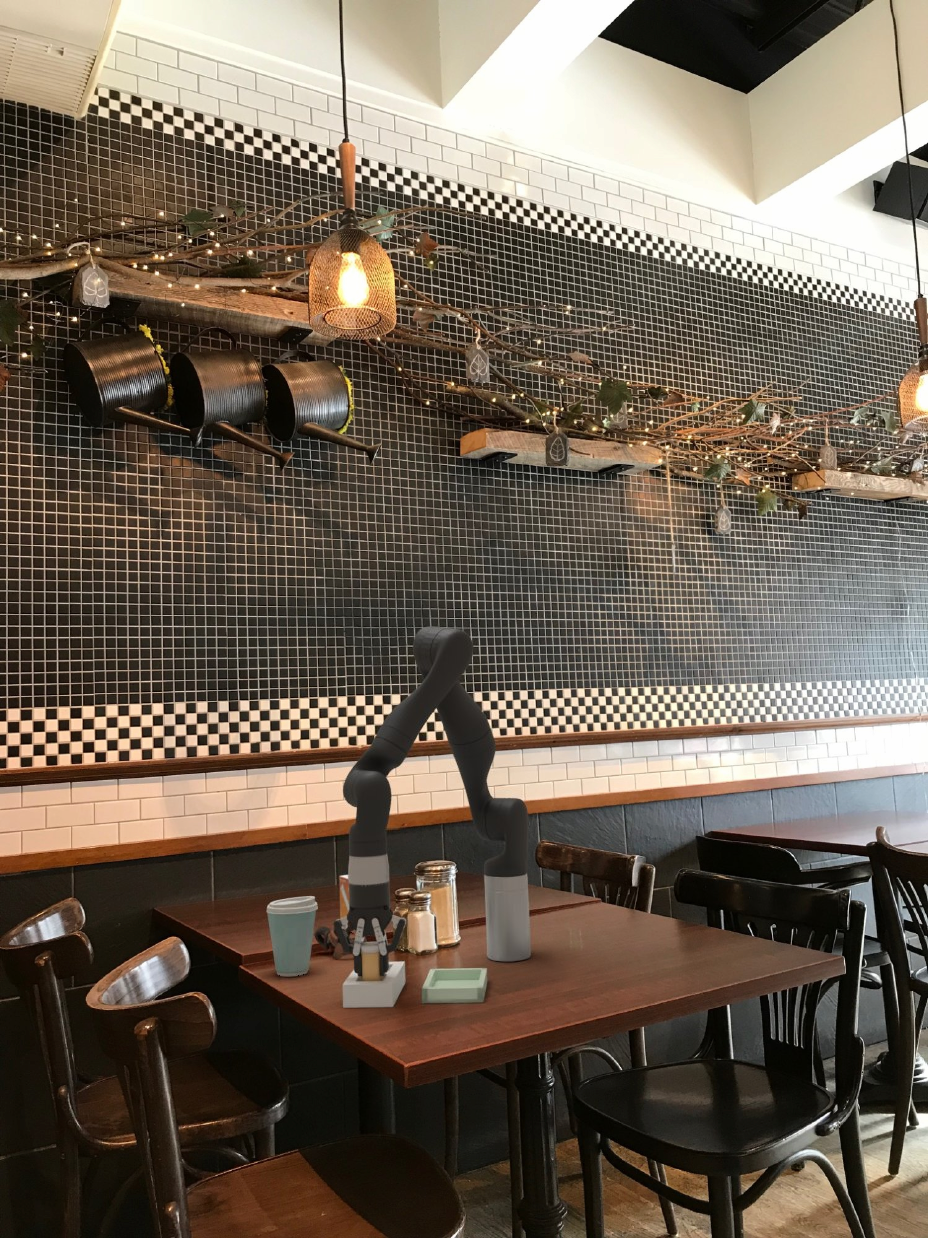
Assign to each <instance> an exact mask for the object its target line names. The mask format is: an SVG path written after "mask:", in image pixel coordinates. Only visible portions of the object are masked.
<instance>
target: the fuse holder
mask: <svg viewBox="0 0 928 1238" xmlns="http://www.w3.org/2000/svg"><path fill="white" fill-rule="evenodd" d="M405 985H406V962H405V961H389V969H388V971H387V973H385V975H384V976H382V981H362V976H360V977H358V973H355V971H354V969H353V970H352V971H351V972H350V974H349V975H348V976H347V978H346V979H345V981H344V982H343V983H342V1007H343V1009H344V1008H345V1009H346V1008H347V1009H348V1008H349V1009H350V1008H352V1009H354V1008H356V1009H357V1008H393V1007H394V1006H395V1004H396V1003H397V1000H398V998H399V995H401V992H402V990H403V988H404V986H405Z"/></svg>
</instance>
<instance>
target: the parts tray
mask: <svg viewBox="0 0 928 1238" xmlns="http://www.w3.org/2000/svg"><path fill="white" fill-rule="evenodd" d="M488 980H489V979H488V967H474V968H473V967H469V968H466V967H465V968H463V967H462V968H430V969H429V971H428V974H427V976H426V979H425V981H424V983H423V986H422V988H421V1004H451V1003H453V1004H458V1003H459V1004H461V1003H462V1004H463V1003H464V1004H467V1003H484V1000H485V996H486V991H487V987H488Z"/></svg>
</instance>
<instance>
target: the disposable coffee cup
mask: <svg viewBox="0 0 928 1238" xmlns="http://www.w3.org/2000/svg"><path fill="white" fill-rule="evenodd" d="M318 907H319V906H318V902H317V901H316V897H315V896H312V895H309V896H308V895H307V896H296V897H287V898H283V899H278V900H273V901H271V902H270V903H269V904H267V907H266V913H267V914H266V915H267V920H268V926H269V934H270V940H271V946H272V947H271V948H272V954H273V959H274V968H275V971H276V973H277V975H278V976H279V975H280V976H279V977H286V978H287V977H289V978H290V977H299V976H303V974H304V975H305V974H307V973H309V969H310V964H311V963H310V961H311V954H312V953H311V952H312V947H313V938H314V937H313V936H314V932H315V930H314V929H315V920H316V912H317V910H318V909H319V908H318ZM298 975H299V976H298Z"/></svg>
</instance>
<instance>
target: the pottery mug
mask: <svg viewBox="0 0 928 1238" xmlns="http://www.w3.org/2000/svg"><path fill="white" fill-rule="evenodd" d="M347 925H348V927H347V928H346V931H347V934H348V936H349V939H350V941H351V944H353V945H354V943H355V938H352V937H350V936H351V935H352V933H351V931H354V929H353V927H352V926H351V924H350V923H349V922H347ZM314 932H315V933H313V936H314V938H315V941H317V943H318V944H319V945H320V946H321V947H323V949H324V951H325V952H328V950H329V949H330V951H331V952H332V953H333V954H332V955H333V959H336V960H338V959H340V960H341V958H342V957H343V956H345V955H349V954H350V953H349V952H347V953H346V952H344V951H343V948H342V946H341V943H340V941H339V938H338V935H337V933H336V930H335V928H334V925H332V926H331V927H328V926H325V925H324V926H323V925H321V926H318V927H317V928H316V929H315V930H314ZM365 942H368V941H367V936H366V937H364V941H363V943H365Z"/></svg>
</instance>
